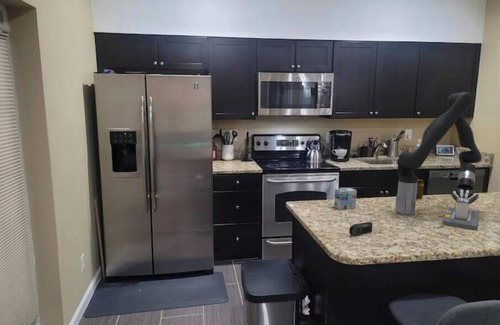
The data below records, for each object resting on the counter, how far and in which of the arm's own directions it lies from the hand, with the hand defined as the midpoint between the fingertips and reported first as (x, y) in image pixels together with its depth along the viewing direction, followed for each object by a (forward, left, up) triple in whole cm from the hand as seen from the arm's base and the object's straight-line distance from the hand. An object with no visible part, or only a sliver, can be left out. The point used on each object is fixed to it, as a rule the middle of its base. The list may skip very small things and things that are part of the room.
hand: (462, 209), depth 174 cm
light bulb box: (-41, +41, -6) cm, 58 cm away
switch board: (+1, +1, -6) cm, 6 cm away
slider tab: (-2, -1, -4) cm, 4 cm away
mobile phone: (-61, +4, -6) cm, 61 cm away
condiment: (+14, +41, -6) cm, 44 cm away
